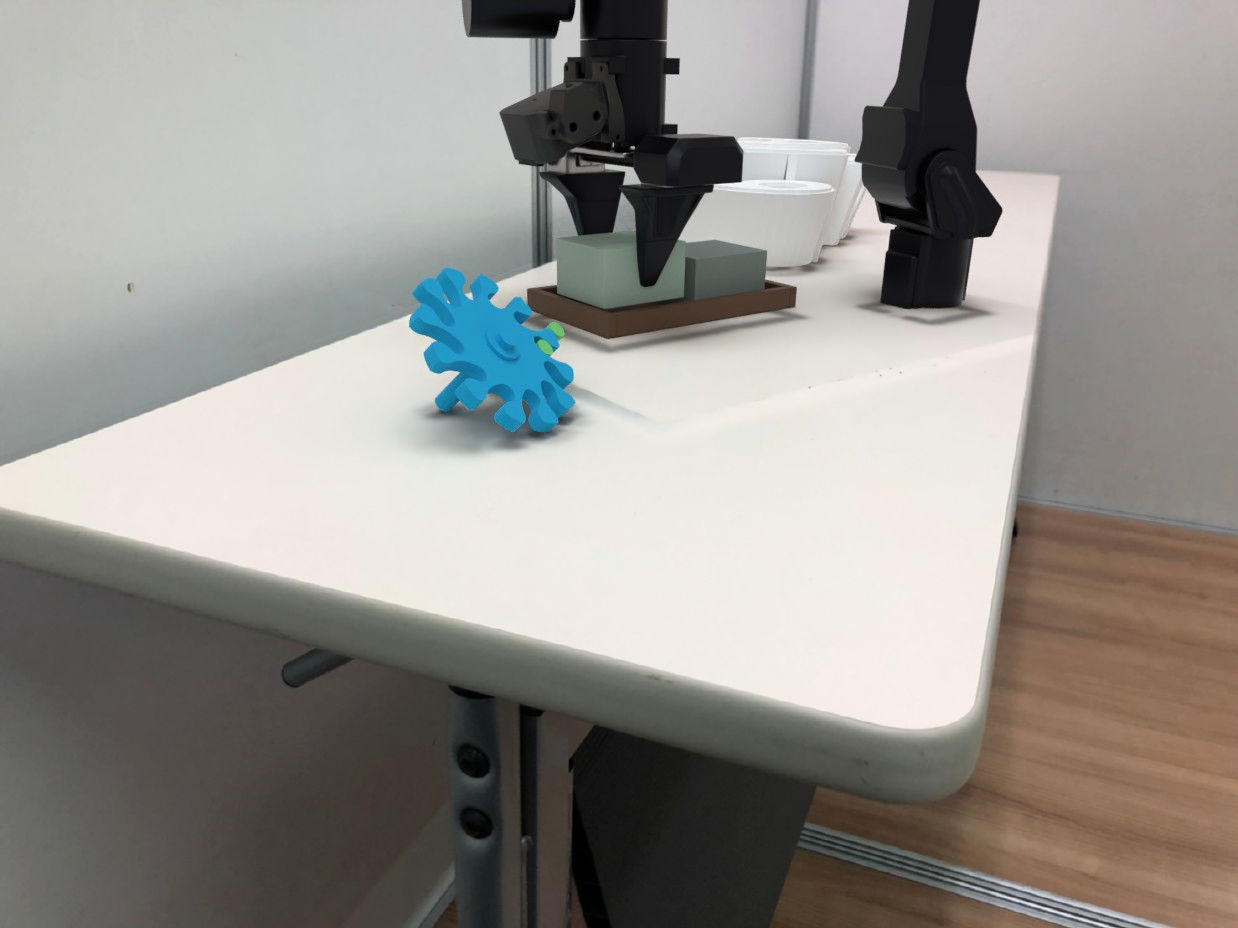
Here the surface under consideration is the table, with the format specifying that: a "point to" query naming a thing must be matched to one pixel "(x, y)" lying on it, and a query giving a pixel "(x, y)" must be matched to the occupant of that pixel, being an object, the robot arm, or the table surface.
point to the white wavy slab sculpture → (783, 200)
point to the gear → (491, 352)
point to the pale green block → (613, 271)
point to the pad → (721, 270)
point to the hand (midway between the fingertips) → (620, 278)
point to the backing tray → (657, 310)
